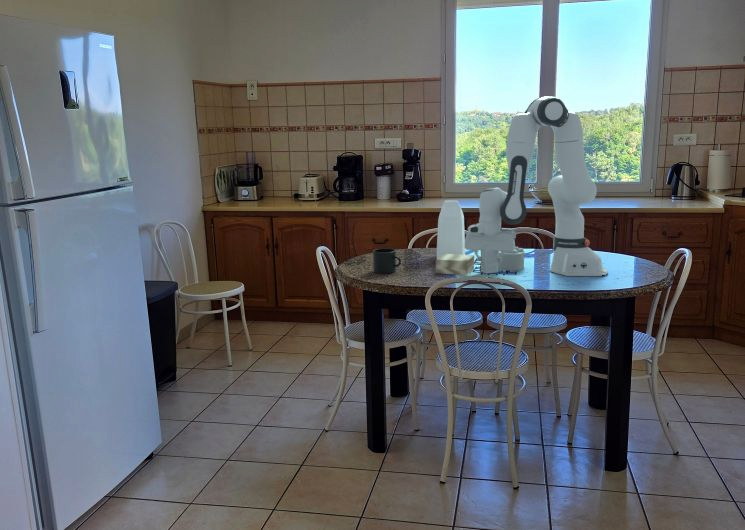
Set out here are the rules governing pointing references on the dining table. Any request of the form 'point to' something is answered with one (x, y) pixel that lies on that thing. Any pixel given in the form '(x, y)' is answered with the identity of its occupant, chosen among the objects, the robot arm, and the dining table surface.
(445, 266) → the birch block
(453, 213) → the milk
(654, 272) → the dining table surface
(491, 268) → the skincare box
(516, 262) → the lumpy-topped squat cylinder
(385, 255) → the mug
